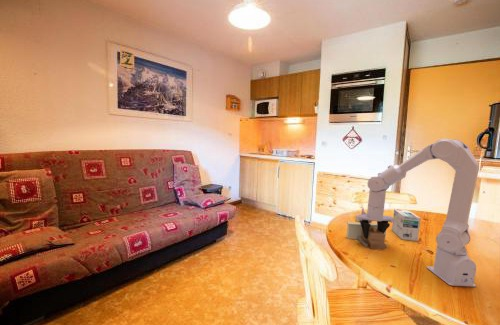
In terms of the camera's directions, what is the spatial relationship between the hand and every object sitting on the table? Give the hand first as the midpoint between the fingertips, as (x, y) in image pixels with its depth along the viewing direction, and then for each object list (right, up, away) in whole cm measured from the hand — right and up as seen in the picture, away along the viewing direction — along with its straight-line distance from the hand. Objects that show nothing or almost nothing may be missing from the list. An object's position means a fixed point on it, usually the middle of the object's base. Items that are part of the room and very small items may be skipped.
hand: (372, 237), depth 92 cm
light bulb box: (+20, -3, +10) cm, 23 cm away
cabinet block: (0, -3, 0) cm, 3 cm away
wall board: (0, -2, +2) cm, 3 cm away
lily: (+9, 0, +24) cm, 26 cm away
